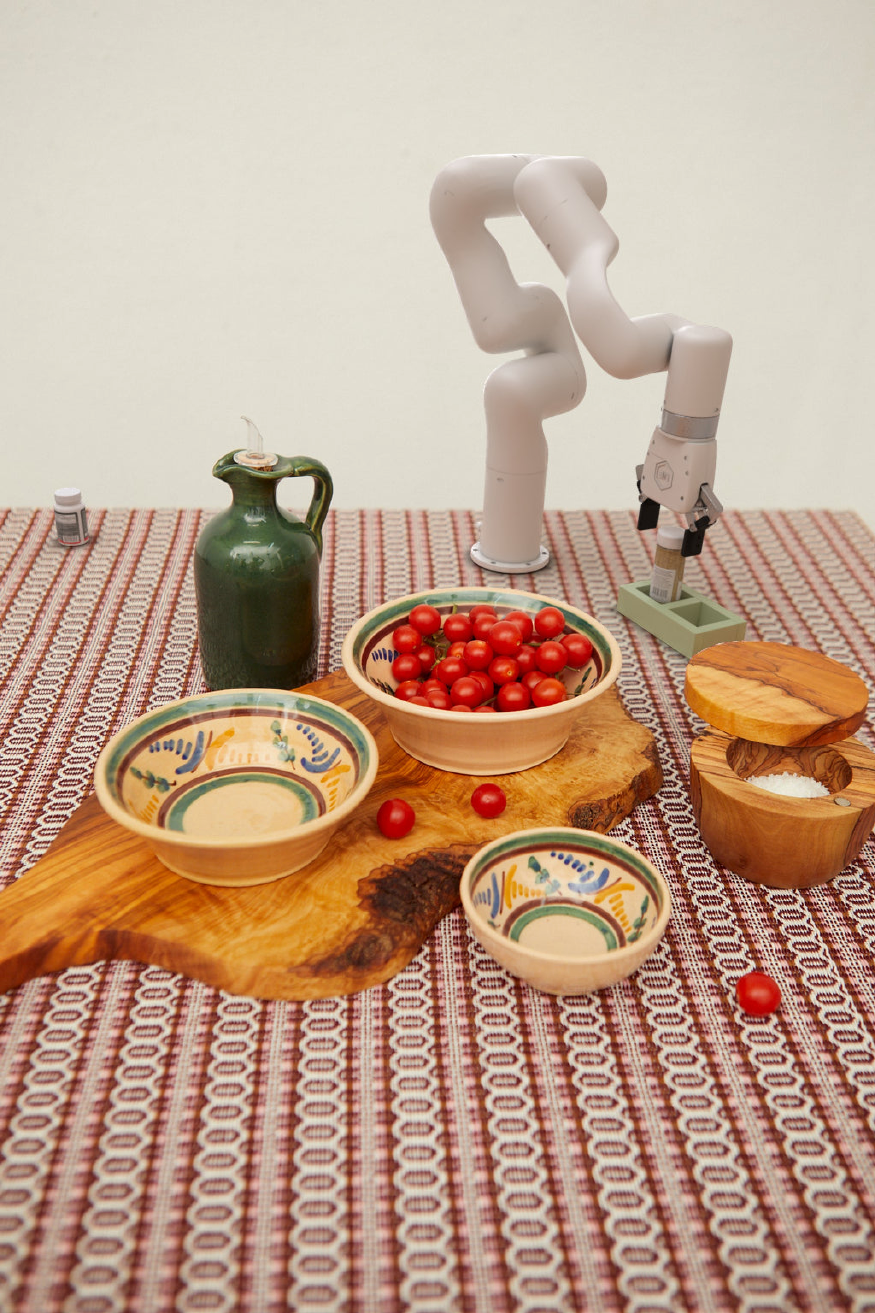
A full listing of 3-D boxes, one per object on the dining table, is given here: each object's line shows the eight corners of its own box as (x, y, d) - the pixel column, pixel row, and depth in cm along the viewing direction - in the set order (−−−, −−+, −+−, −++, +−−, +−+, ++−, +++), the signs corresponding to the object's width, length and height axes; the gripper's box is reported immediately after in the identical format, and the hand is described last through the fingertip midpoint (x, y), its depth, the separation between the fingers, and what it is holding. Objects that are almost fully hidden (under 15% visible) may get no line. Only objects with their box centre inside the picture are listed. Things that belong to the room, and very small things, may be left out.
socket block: (691, 660, 147) (695, 634, 145) (616, 610, 160) (619, 585, 158) (742, 647, 151) (747, 621, 149) (665, 599, 164) (669, 574, 162)
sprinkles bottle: (683, 619, 158) (698, 533, 152) (660, 626, 156) (674, 539, 150) (661, 607, 162) (674, 522, 155) (638, 614, 159) (651, 528, 153)
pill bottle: (76, 533, 178) (70, 484, 174) (95, 540, 176) (89, 490, 172) (52, 541, 175) (45, 491, 171) (71, 549, 172) (64, 498, 168)
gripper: (626, 407, 150) (609, 523, 158) (710, 446, 137) (687, 570, 145) (669, 402, 153) (651, 516, 162) (755, 440, 140) (730, 562, 149)
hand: (668, 541), depth 154 cm, fingers open, 9 cm apart
